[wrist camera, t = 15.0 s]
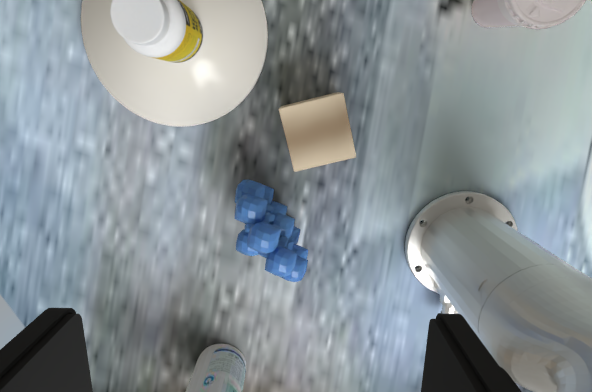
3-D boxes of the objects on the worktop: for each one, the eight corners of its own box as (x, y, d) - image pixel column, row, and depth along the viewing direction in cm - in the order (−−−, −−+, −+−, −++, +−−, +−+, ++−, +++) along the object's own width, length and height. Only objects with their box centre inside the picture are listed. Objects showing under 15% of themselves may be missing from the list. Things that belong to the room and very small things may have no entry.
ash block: (348, 147, 42) (356, 157, 37) (294, 160, 43) (294, 171, 37) (336, 92, 41) (343, 92, 35) (281, 106, 41) (278, 109, 35)
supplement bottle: (216, 34, 38) (189, 16, 28) (179, 74, 39) (141, 70, 29) (174, -10, 37) (131, -44, 27) (137, 33, 38) (84, 15, 28)
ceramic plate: (268, 126, 42) (267, 127, 40) (100, 124, 42) (93, 125, 40) (267, -66, 37) (266, -72, 35) (77, -69, 37) (68, -76, 35)
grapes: (216, 185, 43) (187, 221, 32) (268, 156, 43) (258, 182, 31) (268, 269, 46) (259, 329, 35) (319, 243, 45) (326, 296, 34)
